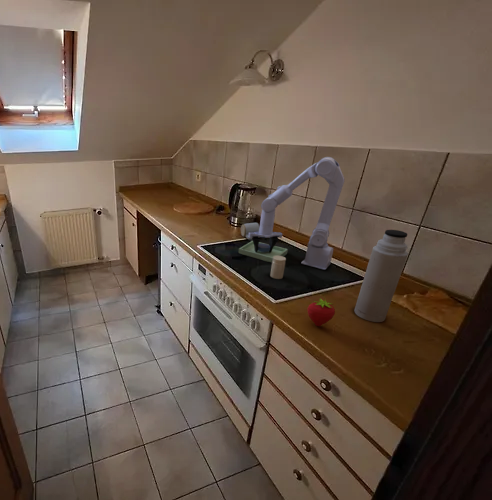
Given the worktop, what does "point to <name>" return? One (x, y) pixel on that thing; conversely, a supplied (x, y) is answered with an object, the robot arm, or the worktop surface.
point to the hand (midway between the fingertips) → (262, 251)
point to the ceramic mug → (249, 229)
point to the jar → (278, 267)
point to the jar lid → (263, 247)
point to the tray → (265, 256)
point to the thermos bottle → (382, 276)
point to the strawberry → (320, 312)
